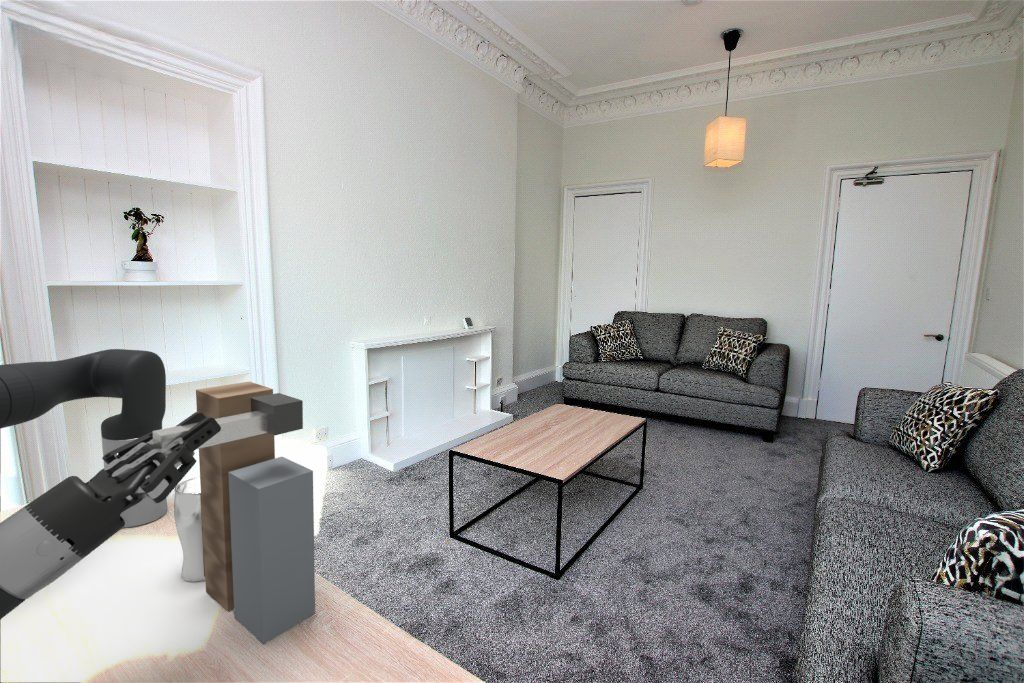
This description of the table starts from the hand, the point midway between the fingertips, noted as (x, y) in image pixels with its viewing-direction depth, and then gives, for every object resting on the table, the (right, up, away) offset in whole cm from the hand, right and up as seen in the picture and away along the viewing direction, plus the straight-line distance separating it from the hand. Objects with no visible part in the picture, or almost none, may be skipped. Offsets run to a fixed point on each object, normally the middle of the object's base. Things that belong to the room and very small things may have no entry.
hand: (209, 420), depth 59 cm
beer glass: (-14, -28, +20) cm, 37 cm away
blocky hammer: (+1, -3, +2) cm, 4 cm away
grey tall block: (+3, -30, +11) cm, 32 cm away
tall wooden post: (-5, -29, +16) cm, 34 cm away
